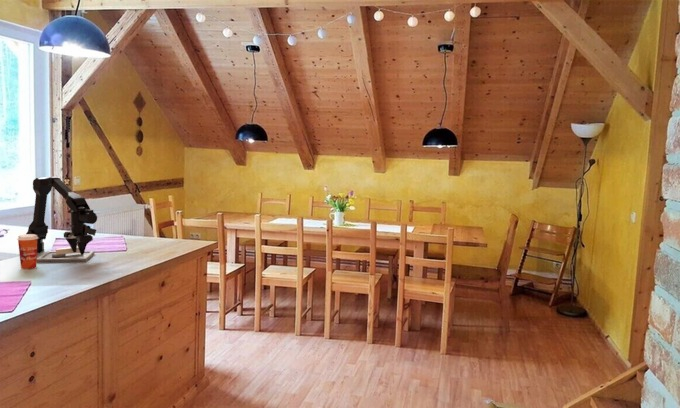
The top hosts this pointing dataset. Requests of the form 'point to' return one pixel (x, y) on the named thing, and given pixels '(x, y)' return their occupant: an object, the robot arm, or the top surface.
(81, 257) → the board
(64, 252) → the long cream stick
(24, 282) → the top surface
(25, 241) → the coffee cup
